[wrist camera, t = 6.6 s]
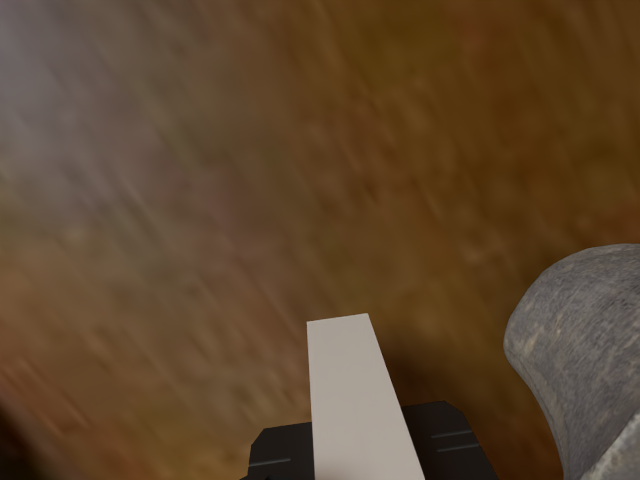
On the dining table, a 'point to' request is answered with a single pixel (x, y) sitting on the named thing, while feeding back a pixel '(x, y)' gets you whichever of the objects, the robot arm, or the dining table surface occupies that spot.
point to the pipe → (585, 358)
